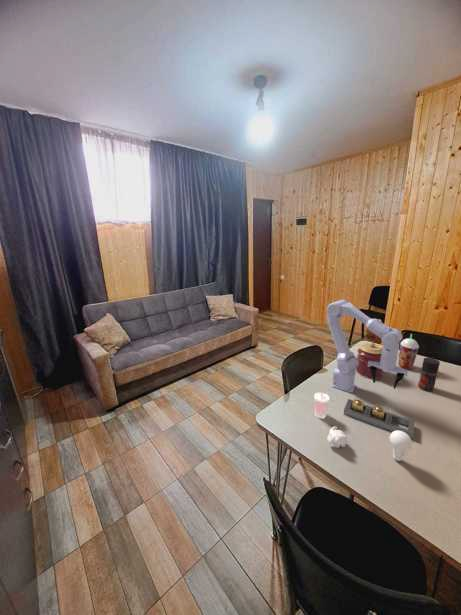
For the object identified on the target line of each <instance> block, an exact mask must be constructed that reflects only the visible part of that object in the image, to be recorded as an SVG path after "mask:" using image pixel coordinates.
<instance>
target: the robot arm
mask: <svg viewBox="0 0 461 615" xmlns="http://www.w3.org/2000/svg"><path fill="white" fill-rule="evenodd" d="M325 309H326V322H327V325H328V328H329V332H330V333H331V337H332V339H333V343H334V345H335V349H336V351H337V357H336V362H337V363H336V364H337V365H336V366H337V367H335V368H334V371H333V376H332V385H331V387H333V388H336V389H338V390H341V391H344V392H345V391H346V392H348V393H351V394H353V393H354V390H355V388H356V386H357V384H356V383H355V378H356V372H357V371H356V367H357V366H358V365H359V361H358V359H357V356H356V355H355V353H354V352H353V351H351V349H350V347H349V344H348V342H347V339H346V335H345V333H344V330H343V327H342V324H341V322H340V319H341V318H342V316H350V317H352V318H353V319H355V320H358V321H359V322H360V323H362V324H364V325H365V326H366V329H367V330H368V331H370V332H371V333H372V334H374V335H376V336H377V337H378V338H380V339H381V341H382V343H383V344H382V347H381V348H382V353H381V359H380V362H373V361H368V367H370V372H371V374H372V377H373V378H372V382H373V384H375V383H376V381H377V380H376V379H377V378H376V372H377V368H379V369H382V370H383V372H385V373H390V372H391V373H396V377H395V381H394V384H393V390H395V389H396V388H397V387H398V384H400V382H401V381H402V380H403V379H404V377H407V376H408V372H409V369H404V368H401V367H400V366H397V360H398V356H399V351H400V342H402V340H403V337H404V336H403V334H402V331H400V330H399V329H398V328H392V326H388V325H387V324H385V323H383V321H382V320H381V319H380V318H379V319H377V318H371V317H369V316H368V315H366V314H365V313H364V312H363V311H361V310H360V309H358V308H357V307H355V306H354V304H352V302H349V301H347V300H346V299H340V300H337V301H335V302H330V303H329V304H328V306H327V307H326V308H325Z"/></svg>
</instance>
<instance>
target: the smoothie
mask: <svg viewBox="0 0 461 615" xmlns="http://www.w3.org/2000/svg"><path fill="white" fill-rule="evenodd" d="M412 337H413V334H412V333H410V336H409V338H405V339H402V340H401V341H400V342H399V353H398V365H399V366H398V367H400V368H402V369H405V370H412V369H413V368H414V364H415V361H416V358H417V354H418V351H419V348H420V346H419V344H418V343H419V342H417V341H416V340H415V339H414V338H412Z"/></svg>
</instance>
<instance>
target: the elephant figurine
mask: <svg viewBox="0 0 461 615" xmlns="http://www.w3.org/2000/svg"><path fill="white" fill-rule="evenodd" d="M349 436H350V435H346V434H345V433H344V431H342V430H340V429H337V426H332V427H331V428H329V433H328V436H327V437H326V440H327V444H330V445H332V444H335V448H338V449H339V448H340V447H341V448H345V447H346V445H347V443H348V438H347V437H349Z"/></svg>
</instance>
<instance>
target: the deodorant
mask: <svg viewBox="0 0 461 615" xmlns="http://www.w3.org/2000/svg"><path fill="white" fill-rule="evenodd" d="M439 367H440V360H438V359H436V358H432V357H424V358H423V361H422V366H421V370H420V371H421V372H420V376H419V380H418V384H417V387H418V389H420V390H421V391H424V392H428V393H433V392H434V389H435V385H436V381H437V377H438V374H439V372H438V371H439Z"/></svg>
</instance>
